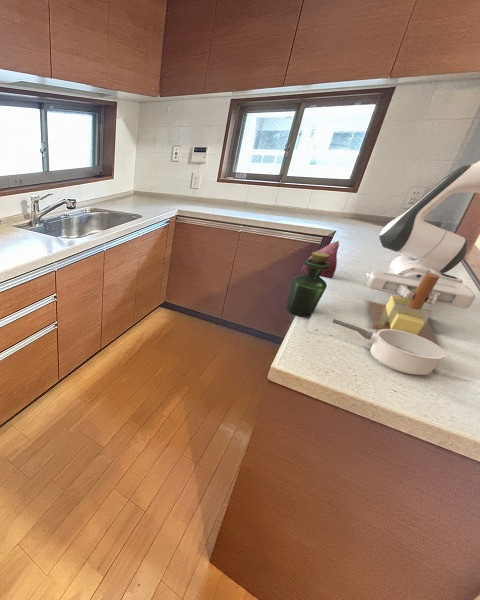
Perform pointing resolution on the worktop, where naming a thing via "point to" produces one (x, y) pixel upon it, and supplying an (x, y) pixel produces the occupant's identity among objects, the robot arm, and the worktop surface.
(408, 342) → the saucepan
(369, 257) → the worktop surface
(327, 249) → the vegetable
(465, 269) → the worktop surface
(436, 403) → the worktop surface
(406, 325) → the butter slice
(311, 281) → the potion bottle
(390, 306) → the butter block
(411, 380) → the worktop surface
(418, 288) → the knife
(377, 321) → the cutting board
